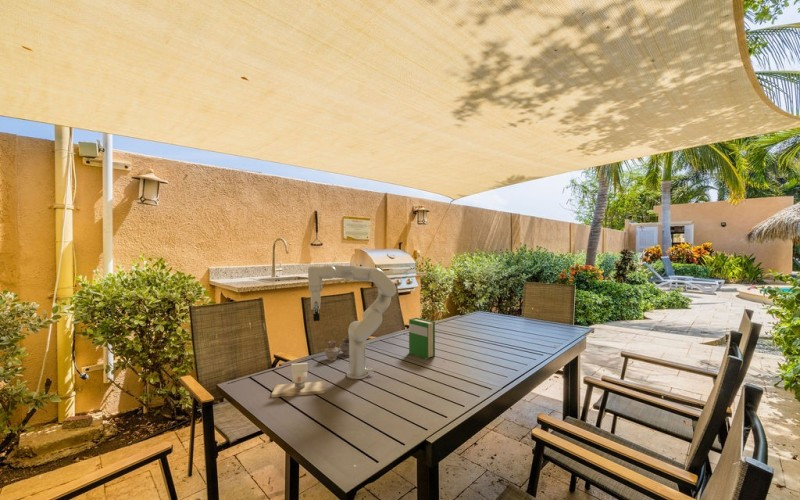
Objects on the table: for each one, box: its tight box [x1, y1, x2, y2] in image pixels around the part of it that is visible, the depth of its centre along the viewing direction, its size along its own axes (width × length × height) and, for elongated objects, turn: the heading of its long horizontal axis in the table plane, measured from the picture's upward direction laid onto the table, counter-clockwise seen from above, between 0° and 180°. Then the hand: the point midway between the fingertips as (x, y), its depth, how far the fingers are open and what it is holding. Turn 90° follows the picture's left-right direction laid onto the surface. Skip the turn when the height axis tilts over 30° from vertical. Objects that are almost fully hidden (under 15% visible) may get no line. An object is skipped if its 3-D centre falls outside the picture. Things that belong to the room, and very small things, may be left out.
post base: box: [270, 380, 326, 398], centre depth 178 cm, size 26×12×5 cm, turn 101°
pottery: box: [324, 337, 349, 362], centre depth 232 cm, size 11×25×12 cm, turn 144°
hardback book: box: [408, 317, 436, 360], centre depth 235 cm, size 18×7×24 cm, turn 42°
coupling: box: [291, 362, 309, 384], centre depth 177 cm, size 9×8×9 cm
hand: (316, 318), depth 190 cm, fingers open, 9 cm apart
